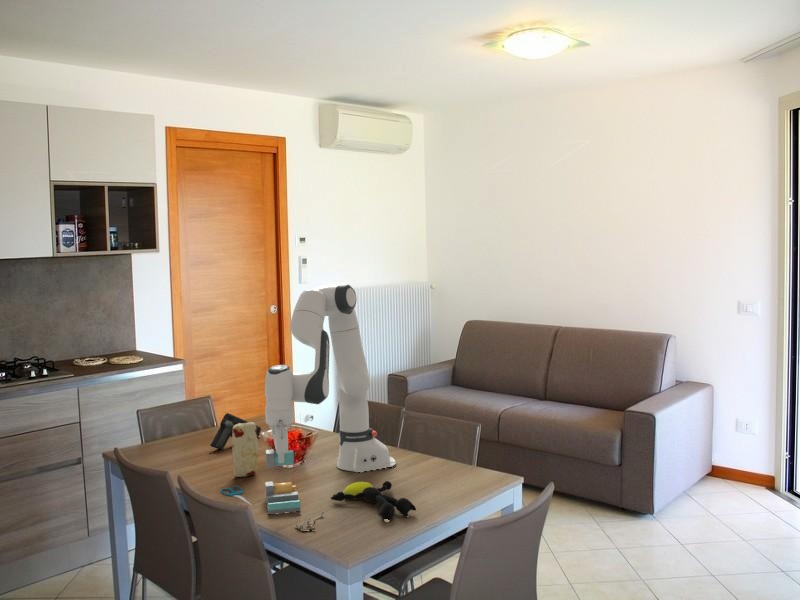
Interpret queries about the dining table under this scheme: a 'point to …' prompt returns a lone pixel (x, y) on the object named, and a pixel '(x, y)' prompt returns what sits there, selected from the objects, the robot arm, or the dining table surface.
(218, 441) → the handgun
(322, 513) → the leaf
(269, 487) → the tan and gray block
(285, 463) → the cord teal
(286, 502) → the rack
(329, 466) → the dining table surface
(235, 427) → the food model
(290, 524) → the dining table surface
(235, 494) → the scissors
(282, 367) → the robot arm
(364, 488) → the toy
